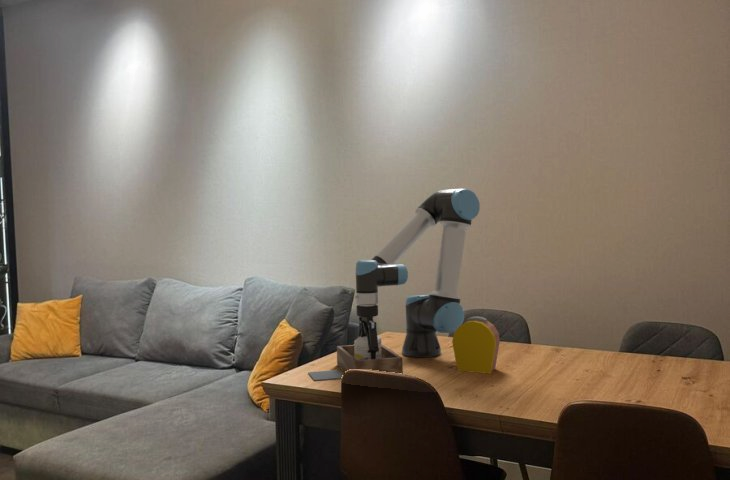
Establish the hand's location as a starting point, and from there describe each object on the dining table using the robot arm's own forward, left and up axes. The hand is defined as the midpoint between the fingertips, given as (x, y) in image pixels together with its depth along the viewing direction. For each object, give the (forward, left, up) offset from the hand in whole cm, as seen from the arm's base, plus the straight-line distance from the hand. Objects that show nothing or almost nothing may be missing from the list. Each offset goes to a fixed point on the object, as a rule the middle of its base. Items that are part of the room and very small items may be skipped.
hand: (368, 367), depth 225 cm
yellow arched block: (-37, +10, -2) cm, 38 cm away
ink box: (0, 0, -2) cm, 2 cm away
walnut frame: (0, 0, -2) cm, 2 cm away
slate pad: (+15, +1, -2) cm, 15 cm away
